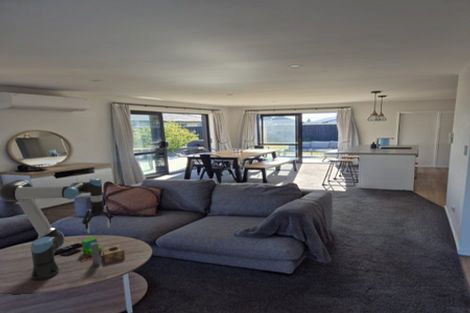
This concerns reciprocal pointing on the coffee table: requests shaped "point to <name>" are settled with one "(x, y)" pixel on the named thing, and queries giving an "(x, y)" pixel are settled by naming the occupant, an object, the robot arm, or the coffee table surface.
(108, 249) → the wooden square frame
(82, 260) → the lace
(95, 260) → the dark grey bar
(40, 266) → the robot arm
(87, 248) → the toy car
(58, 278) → the coffee table surface
